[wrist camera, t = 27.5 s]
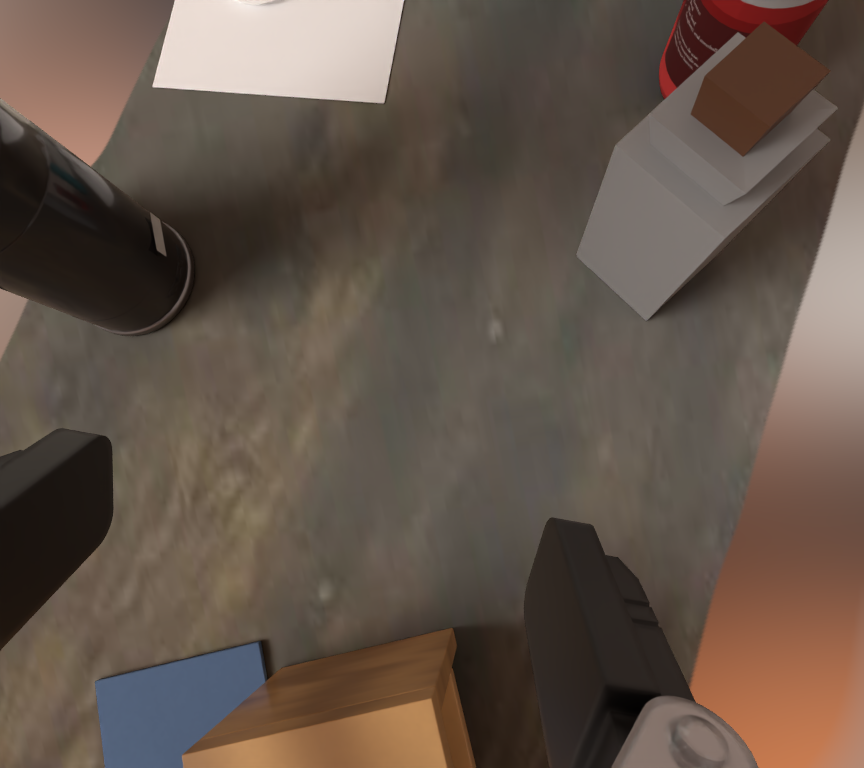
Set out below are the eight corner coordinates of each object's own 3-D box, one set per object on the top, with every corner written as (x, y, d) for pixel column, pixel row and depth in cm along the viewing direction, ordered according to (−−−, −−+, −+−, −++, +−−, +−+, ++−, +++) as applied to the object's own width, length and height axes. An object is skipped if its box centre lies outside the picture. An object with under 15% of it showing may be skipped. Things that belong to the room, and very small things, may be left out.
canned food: (776, 40, 41) (877, -118, 30) (751, 137, 40) (846, 10, 29) (670, 22, 42) (730, -136, 31) (643, 115, 41) (696, -15, 30)
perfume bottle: (646, 321, 38) (773, 187, 21) (575, 255, 40) (639, 77, 22) (716, 255, 39) (901, 68, 21) (644, 192, 40) (760, -33, 22)
